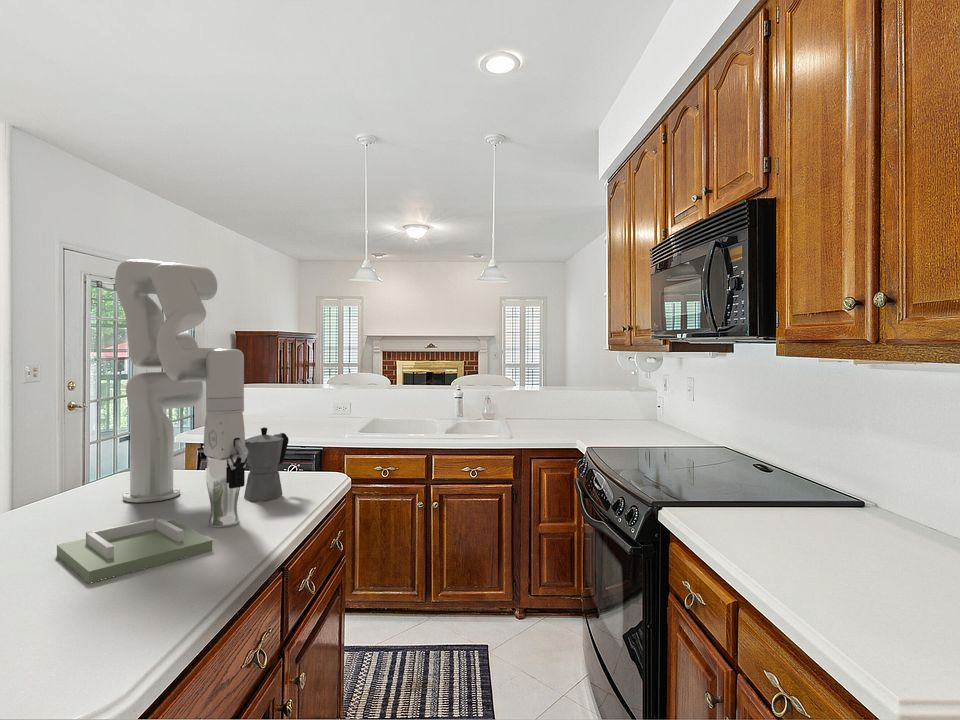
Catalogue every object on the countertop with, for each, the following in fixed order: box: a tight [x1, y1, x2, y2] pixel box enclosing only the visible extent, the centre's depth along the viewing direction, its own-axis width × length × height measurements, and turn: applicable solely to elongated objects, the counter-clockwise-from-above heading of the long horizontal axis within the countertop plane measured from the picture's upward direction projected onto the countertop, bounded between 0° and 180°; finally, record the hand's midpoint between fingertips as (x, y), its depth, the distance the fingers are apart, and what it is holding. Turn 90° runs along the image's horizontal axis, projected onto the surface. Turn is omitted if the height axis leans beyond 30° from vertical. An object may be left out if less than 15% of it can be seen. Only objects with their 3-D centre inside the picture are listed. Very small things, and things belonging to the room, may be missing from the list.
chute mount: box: [56, 516, 213, 584], centre depth 104 cm, size 18×20×4 cm
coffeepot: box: [243, 427, 290, 503], centre depth 145 cm, size 15×9×18 cm, turn 159°
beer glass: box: [206, 456, 241, 529], centre depth 122 cm, size 7×7×15 cm
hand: (225, 483), depth 122 cm, fingers open, 9 cm apart
